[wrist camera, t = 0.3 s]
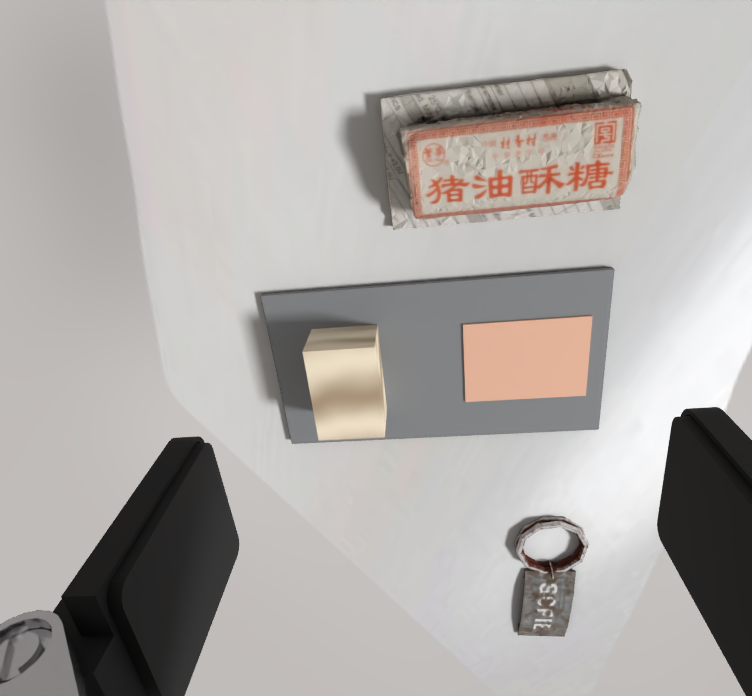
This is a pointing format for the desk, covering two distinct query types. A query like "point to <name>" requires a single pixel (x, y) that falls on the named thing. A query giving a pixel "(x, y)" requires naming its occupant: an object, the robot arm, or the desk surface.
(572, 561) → the keychain
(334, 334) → the birch tile
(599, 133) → the packaged product
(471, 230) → the desk surface
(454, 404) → the mat
